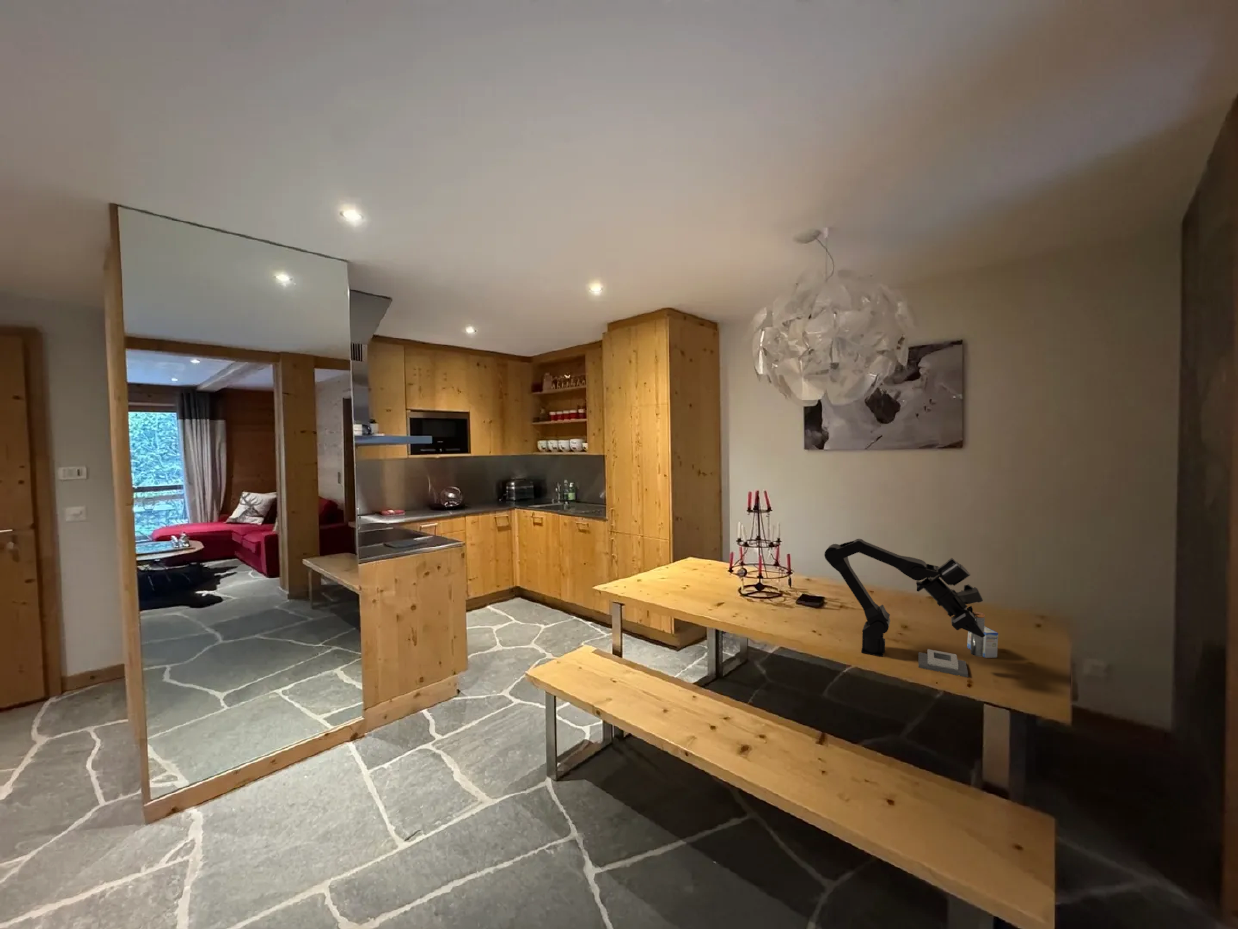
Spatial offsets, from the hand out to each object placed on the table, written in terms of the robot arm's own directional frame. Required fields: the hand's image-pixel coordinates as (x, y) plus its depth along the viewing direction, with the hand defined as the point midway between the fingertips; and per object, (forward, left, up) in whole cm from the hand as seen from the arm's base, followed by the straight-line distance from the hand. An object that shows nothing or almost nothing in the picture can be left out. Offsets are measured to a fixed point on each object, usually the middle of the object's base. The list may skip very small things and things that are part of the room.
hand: (983, 634), depth 153 cm
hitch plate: (-10, 0, -12) cm, 16 cm away
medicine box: (+2, +17, -13) cm, 22 cm away
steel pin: (-1, 0, -7) cm, 7 cm away
